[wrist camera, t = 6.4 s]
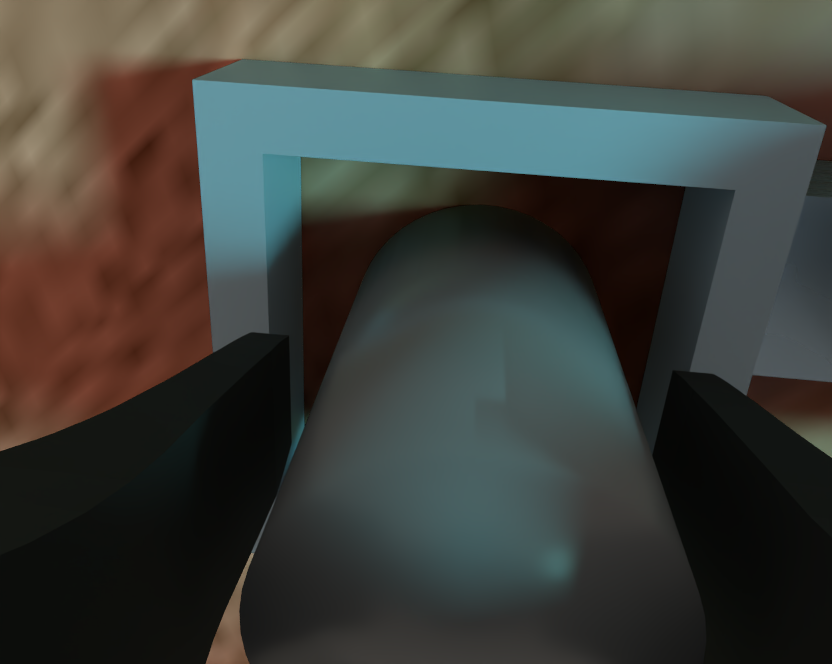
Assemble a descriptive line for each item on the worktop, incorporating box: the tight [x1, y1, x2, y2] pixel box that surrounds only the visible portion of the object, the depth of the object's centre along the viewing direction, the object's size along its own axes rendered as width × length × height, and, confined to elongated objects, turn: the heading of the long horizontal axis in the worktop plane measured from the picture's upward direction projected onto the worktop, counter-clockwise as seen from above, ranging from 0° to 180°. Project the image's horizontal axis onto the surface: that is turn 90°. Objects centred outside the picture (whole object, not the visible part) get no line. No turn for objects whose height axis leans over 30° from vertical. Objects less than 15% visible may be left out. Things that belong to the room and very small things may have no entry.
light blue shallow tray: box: [192, 59, 827, 553], centre depth 14 cm, size 9×9×2 cm
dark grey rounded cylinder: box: [239, 205, 706, 664], centre depth 12 cm, size 5×6×8 cm
